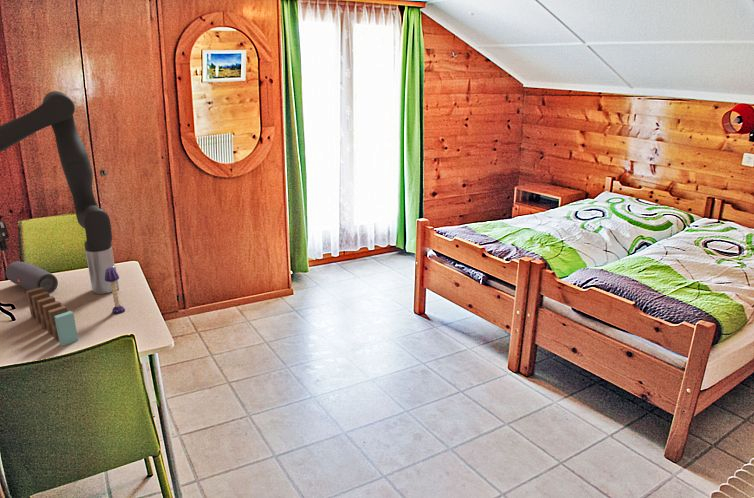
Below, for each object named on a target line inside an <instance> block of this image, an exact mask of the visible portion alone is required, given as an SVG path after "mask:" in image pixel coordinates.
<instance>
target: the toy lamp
mask: <svg viewBox="0 0 754 498" xmlns="http://www.w3.org/2000/svg"><path fill="white" fill-rule="evenodd" d="M119 279H120V276H119V273H118V272H117V269H116V270H115V268H113V267H110V268H107V269H106V271H105V281H107V282H110V283H111V287H112V291H113V292H111V293H112V298H113V302H114V307H113V308H112V310H111V313H112V314H116V315H117V314H118V315H119V314H122V313H124V312H125V311H126V309H125V307H124V306H123V305H121V303H120V299H119V298H120V297H119V292H118V290H117V287H116V283H115V282H116V280H119Z"/></svg>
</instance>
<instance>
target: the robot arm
mask: <svg viewBox="0 0 754 498" xmlns="http://www.w3.org/2000/svg"><path fill="white" fill-rule="evenodd" d="M75 106H76V105H75V103H74V100H73V99H72V98H71V97H70V96H69V95H67V94H66V93H65V92H62V91H58V90H57V91H56V90H55V91H50V92H48V93H47V94H45V96H44V97H43V99H42V103H41V104H40V105H39V106H38V107H36V108H35V109H33V110H32V111H29V112H28V113H26V114H24V115H22V116H20V117H17V118H15V119H13V120H10V121H7V122H5V123H2V124H0V153H1V152H3V151H5V150H7V149H9V148H10V147H11V148H12V146H14V145H17V143H19V142H21V141H23V140H24V139H26V138H27V137H30V136H31V135H33V134H35V133H36V132H39V131H41V130H43V129H45V128H47V127H50V126H51V128H52V131H53V134H54V138H55V142H56V148H57V153H58V157H59V160H60V163H61V164H60V165H61V168H62V170H63V173H64V177H65V179H66V183H67V185H68V188H69V191H70V193H71V195H72V199H73V205H74V209H75V216H76V220H77V223H78V224H79V226H80V227H82V228H83V229H84V231H85V238H86V240H85V241H84V244H83V245H84V251H85V257H86V262H87V267H88V269H87V270H88V273H89V279H90V285H91V290H92V293H93V294H97V295H102V294H110V293H112V292H113V291H112V287H111V283H110V282H107V281H105V271H106V269H107V268H110V267H113V268H115V270H116V271H117V267H116V264H115V259H114V252H113V246H112V245H113V244H112V240H113V233H112V224H111V223H112V222H111V219H110V216H109V214H108V212H107V211H105V210H104V209H102V208H99V205H98V203H97V200H96V198H95V195H94V191H93V175H94V174H93V168H92V165H91V164H92V163H91V162H90V158H89V155H88V152H87V150H86V149H87V148H86V146H85V145H84V143H83V141H82V139H81V136H80V135H79V131H78V130H77V125H76V122H75V118H74V114H75V111H76V107H75ZM9 238H10V235H9V231H8V228H7V225H6V222H5V221H0V251H1V252H5V251H7V250H8V244H7V241H6V240H7V239H9ZM118 280H119V279H118ZM118 280H116V282H115V283H116V287H117V291H118V290H120V286H119V281H118Z"/></svg>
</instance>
